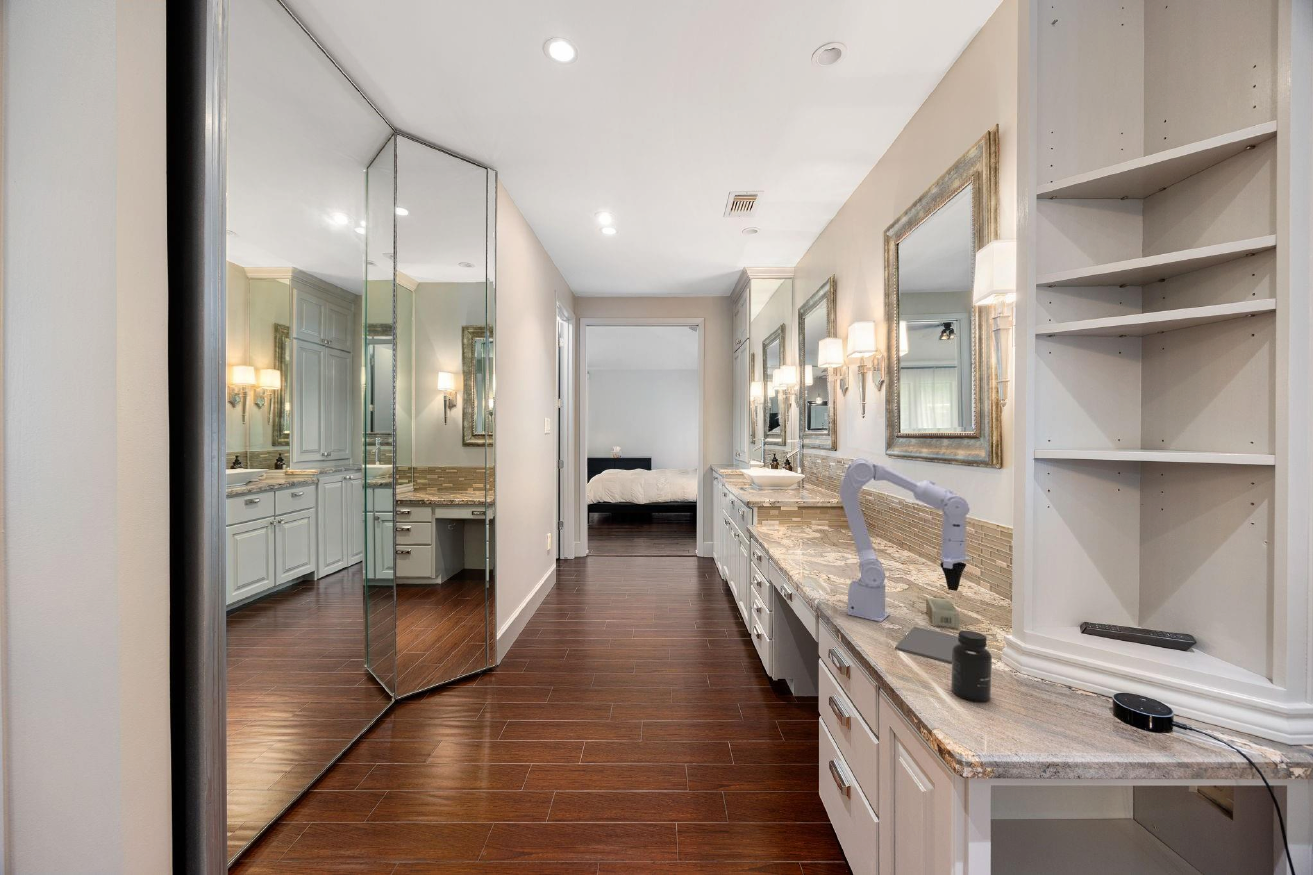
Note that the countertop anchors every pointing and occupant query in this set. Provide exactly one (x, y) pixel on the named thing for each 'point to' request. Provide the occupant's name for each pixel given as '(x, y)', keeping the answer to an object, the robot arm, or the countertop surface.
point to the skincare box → (942, 613)
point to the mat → (929, 644)
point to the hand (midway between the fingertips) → (952, 589)
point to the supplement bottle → (971, 667)
